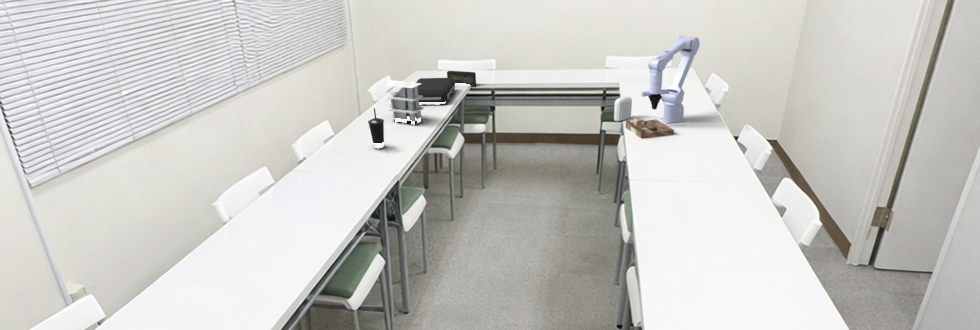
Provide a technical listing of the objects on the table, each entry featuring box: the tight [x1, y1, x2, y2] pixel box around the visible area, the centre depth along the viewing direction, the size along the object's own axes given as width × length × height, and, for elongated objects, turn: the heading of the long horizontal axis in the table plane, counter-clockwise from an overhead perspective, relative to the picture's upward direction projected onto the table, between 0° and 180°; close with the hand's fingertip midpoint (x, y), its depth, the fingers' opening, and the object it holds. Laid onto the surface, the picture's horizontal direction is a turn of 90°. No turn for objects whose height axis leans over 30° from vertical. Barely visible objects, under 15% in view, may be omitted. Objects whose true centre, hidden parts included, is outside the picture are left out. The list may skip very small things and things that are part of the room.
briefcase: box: [415, 77, 456, 102], centre depth 362 cm, size 36×32×10 cm
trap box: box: [625, 119, 675, 139], centre depth 286 cm, size 17×18×4 cm
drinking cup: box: [367, 107, 385, 144], centre depth 278 cm, size 8×8×20 cm
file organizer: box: [385, 79, 425, 121], centre depth 316 cm, size 26×35×22 cm
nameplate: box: [446, 70, 477, 88], centre depth 389 cm, size 21×2×10 cm, turn 65°
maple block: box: [633, 117, 646, 128], centre depth 285 cm, size 4×4×4 cm
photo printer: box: [613, 95, 633, 122], centre depth 304 cm, size 10×4×12 cm, turn 123°
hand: (654, 108), depth 289 cm, fingers closed
